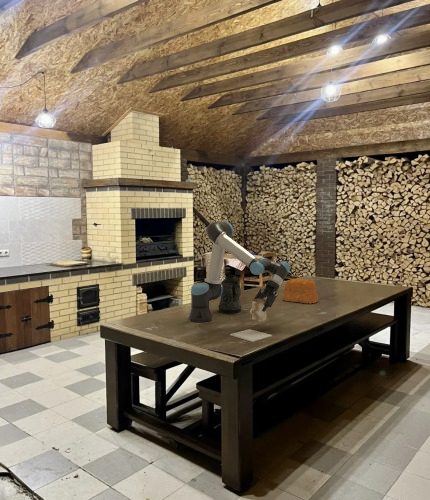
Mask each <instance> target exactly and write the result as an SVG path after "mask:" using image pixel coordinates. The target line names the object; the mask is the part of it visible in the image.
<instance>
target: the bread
mask: <svg viewBox="0 0 430 500" xmlns="http://www.w3.org/2000/svg"><path fill="white" fill-rule="evenodd" d="M282 300H283V301H285V302H292V303H301V304H308V303H309V305H311V304H312V303H313V304H316V303H318V302H319V292H318V291H317V284H316V282H315V280H310V279H309V280H308V279H302V278H300V279H298V278H297V279H295V278H292V279H289V280H288V281H286V282H285V285H284V290H283V294H282ZM313 304H312V305H313Z"/></svg>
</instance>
